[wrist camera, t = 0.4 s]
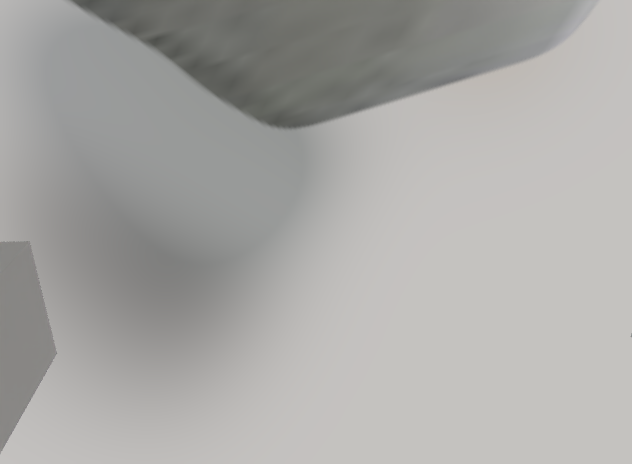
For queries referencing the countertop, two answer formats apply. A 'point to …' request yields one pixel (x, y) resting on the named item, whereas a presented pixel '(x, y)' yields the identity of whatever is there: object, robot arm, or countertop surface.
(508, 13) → the countertop surface
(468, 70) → the countertop surface
